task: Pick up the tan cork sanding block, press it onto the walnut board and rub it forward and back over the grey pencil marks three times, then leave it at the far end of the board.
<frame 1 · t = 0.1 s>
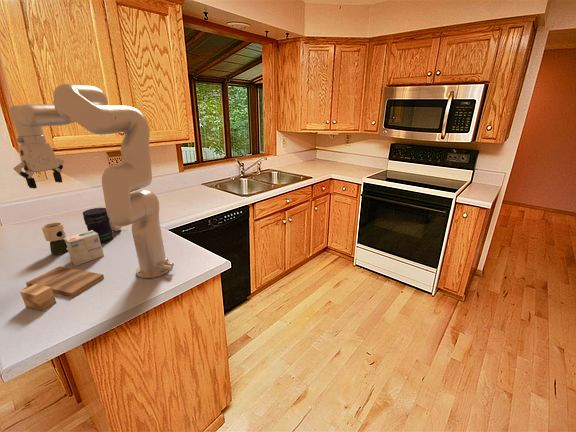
hand: (46, 185, 114), 31 cm above the worktop, tool pointing down, fingers open, 9 cm apart
light bulb box: (88, 259, 122), on the worktop
sanding block: (41, 305, 93), on the worktop
egg: (116, 231, 149), on the worktop
board: (66, 282, 105), on the worktop
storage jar: (102, 240, 139), on the worktop
character mug: (60, 252, 127), on the worktop
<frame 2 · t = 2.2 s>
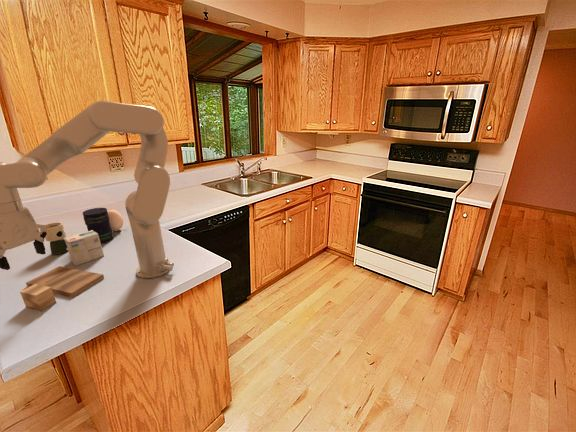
hand: (24, 260, 87), 16 cm above the worktop, tool pointing down, fingers open, 9 cm apart
nothing on the worktop moved.
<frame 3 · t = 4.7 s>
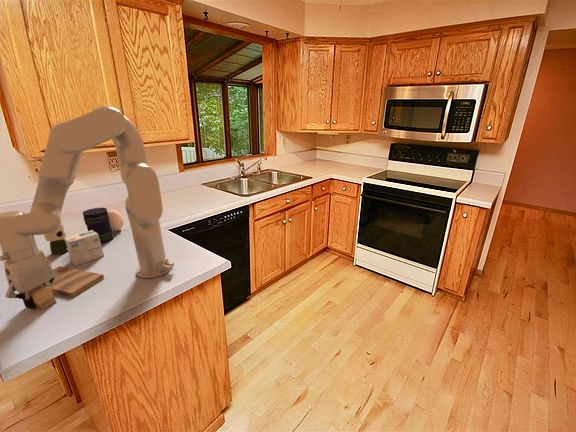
hand: (40, 302, 92), 1 cm above the worktop, tool pointing down, fingers closed on sanding block, 4 cm apart
sanding block: (41, 305, 93), on the worktop, touching gripper
everything else where it was.
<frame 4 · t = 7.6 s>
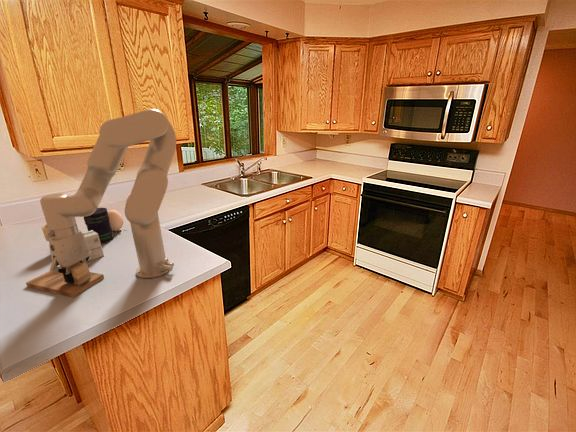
hand: (77, 278, 102), 3 cm above the worktop, tool pointing down, fingers closed on sanding block, 4 cm apart
sanding block: (77, 280, 102), point 2 cm above the worktop, touching gripper
everything else where it was.
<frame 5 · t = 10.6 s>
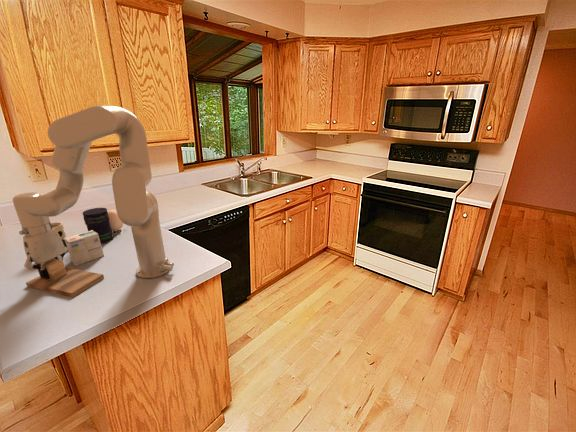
hand: (53, 274, 105), 2 cm above the worktop, tool pointing down, fingers closed on sanding block, 4 cm apart
sanding block: (53, 276, 106), point 2 cm above the worktop, touching gripper
everything else where it was.
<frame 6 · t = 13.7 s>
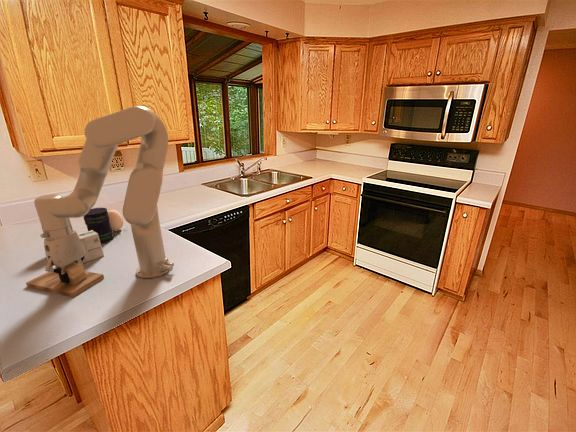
hand: (73, 278, 103), 3 cm above the worktop, tool pointing down, fingers closed on sanding block, 4 cm apart
sanding block: (73, 280, 103), point 2 cm above the worktop, touching gripper
everything else where it was.
when the fingers open (3 cm above the worktop, at t = 16.5 s): sanding block stays where it is, resting on board.
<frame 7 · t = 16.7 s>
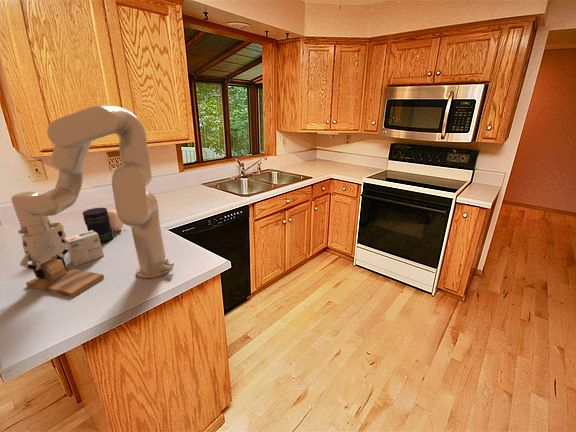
hand: (52, 272, 105), 3 cm above the worktop, tool pointing down, fingers open, 6 cm apart
sanding block: (53, 276, 106), point 2 cm above the worktop, touching board
everything else where it was.
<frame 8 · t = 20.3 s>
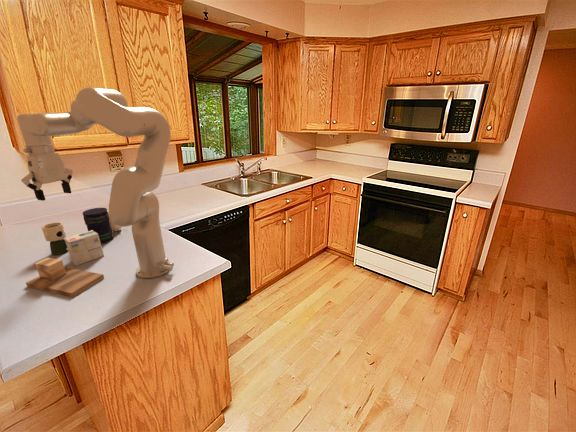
hand: (55, 196, 109), 28 cm above the worktop, tool pointing down, fingers open, 9 cm apart
nothing on the worktop moved.
at the end: sanding block inside the target area on the board (0.0 cm from its centre), point 1.6 cm above the board's base; sanding block tilted 0°; the gripper is holding nothing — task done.
